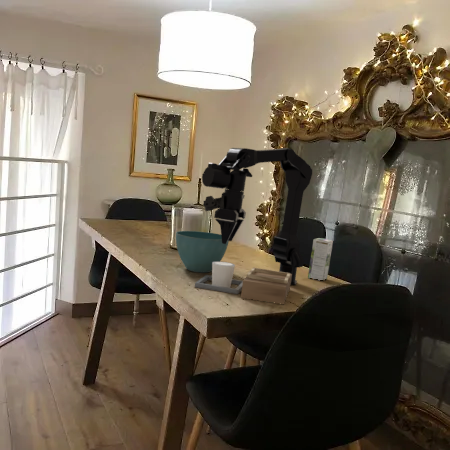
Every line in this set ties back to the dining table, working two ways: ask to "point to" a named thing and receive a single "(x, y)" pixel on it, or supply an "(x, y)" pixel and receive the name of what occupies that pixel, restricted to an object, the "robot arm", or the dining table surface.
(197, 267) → the teal round bowl
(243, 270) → the dining table surface
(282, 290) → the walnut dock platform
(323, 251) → the syrup box
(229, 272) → the shot glass
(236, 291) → the grey square frame
